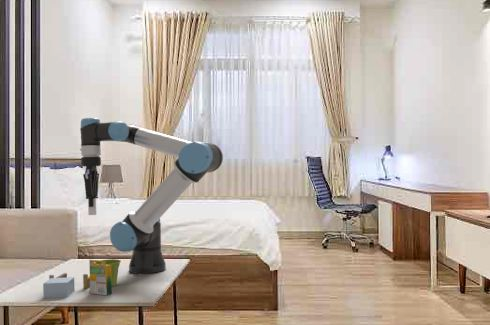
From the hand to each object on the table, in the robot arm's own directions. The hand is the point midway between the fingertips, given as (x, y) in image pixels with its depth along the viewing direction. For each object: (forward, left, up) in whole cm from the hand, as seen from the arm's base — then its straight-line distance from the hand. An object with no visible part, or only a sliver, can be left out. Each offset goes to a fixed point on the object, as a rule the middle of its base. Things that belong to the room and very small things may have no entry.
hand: (92, 214), depth 199 cm
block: (+3, +29, -25) cm, 38 cm away
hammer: (+2, +16, -24) cm, 29 cm away
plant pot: (-11, +18, -25) cm, 32 cm away
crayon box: (-12, +30, -25) cm, 41 cm away
